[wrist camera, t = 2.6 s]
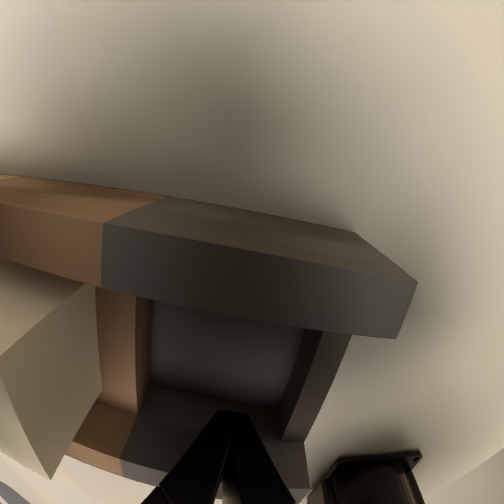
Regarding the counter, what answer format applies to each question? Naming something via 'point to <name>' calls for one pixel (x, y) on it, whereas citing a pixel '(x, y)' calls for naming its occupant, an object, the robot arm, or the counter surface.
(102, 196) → the channel
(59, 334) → the cream block
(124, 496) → the counter surface
